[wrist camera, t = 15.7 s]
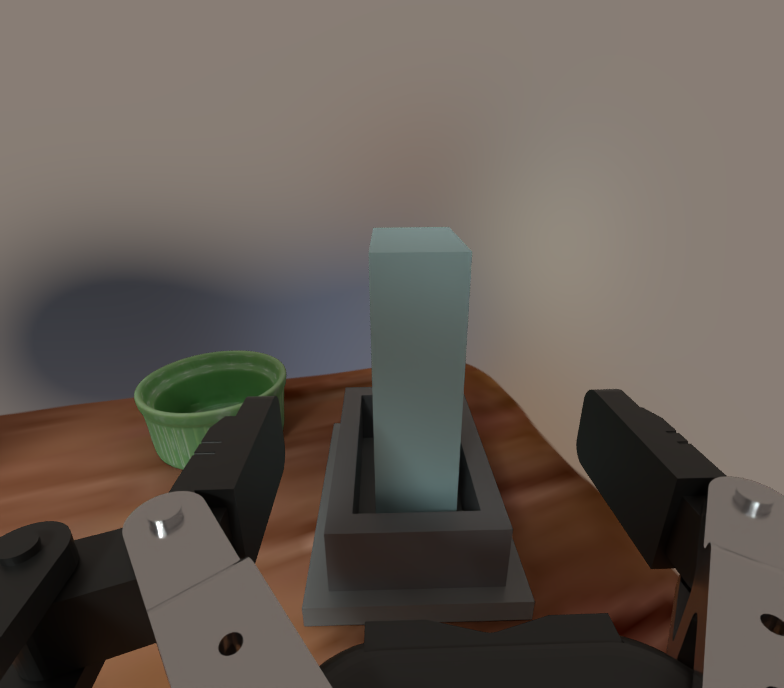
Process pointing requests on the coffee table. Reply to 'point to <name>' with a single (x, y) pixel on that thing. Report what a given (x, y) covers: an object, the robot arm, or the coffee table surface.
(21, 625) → the robot arm
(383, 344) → the tall teal prism
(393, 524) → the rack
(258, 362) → the ramekin
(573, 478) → the coffee table surface
